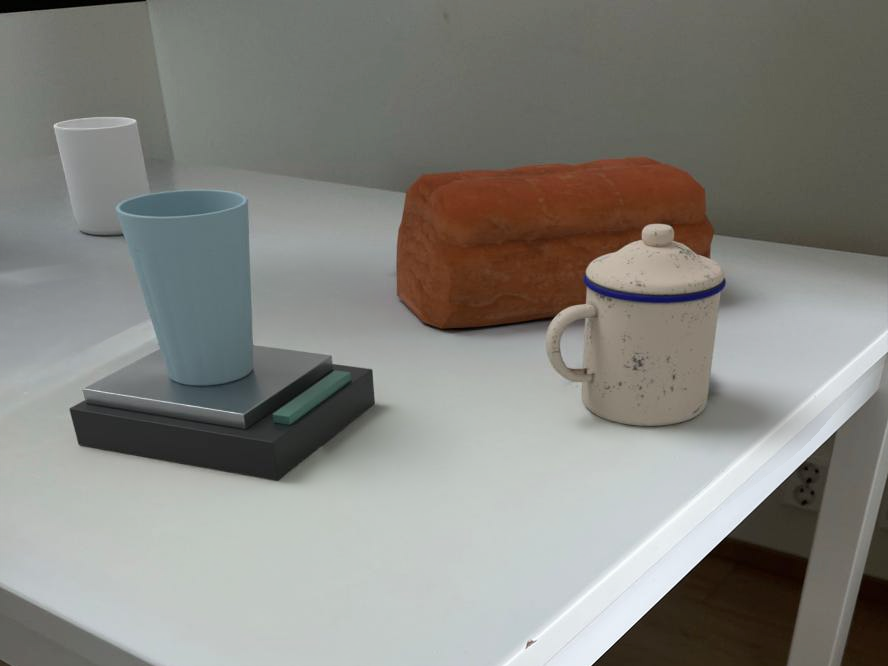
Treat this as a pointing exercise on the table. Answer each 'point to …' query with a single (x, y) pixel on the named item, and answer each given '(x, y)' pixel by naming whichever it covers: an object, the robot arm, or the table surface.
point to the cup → (194, 280)
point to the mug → (101, 169)
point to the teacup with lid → (645, 331)
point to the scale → (226, 412)
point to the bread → (532, 235)
